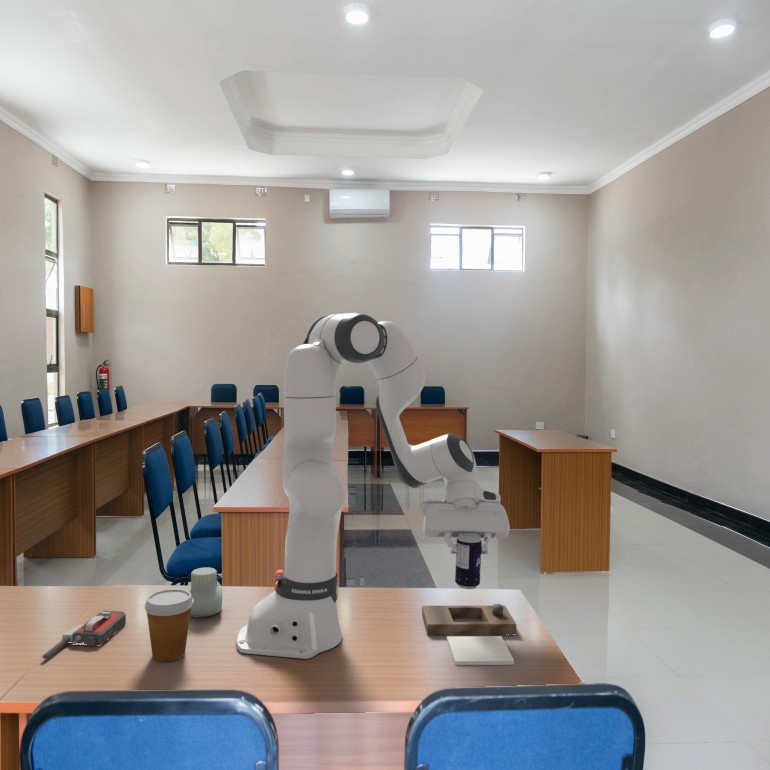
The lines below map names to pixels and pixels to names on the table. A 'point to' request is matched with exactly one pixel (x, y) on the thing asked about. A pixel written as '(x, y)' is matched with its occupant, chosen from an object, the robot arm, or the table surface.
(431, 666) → the table surface
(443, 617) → the base
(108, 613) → the walkie-talkie
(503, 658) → the pad
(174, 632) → the disposable coffee cup
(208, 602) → the air freshener
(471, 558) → the beverage can
